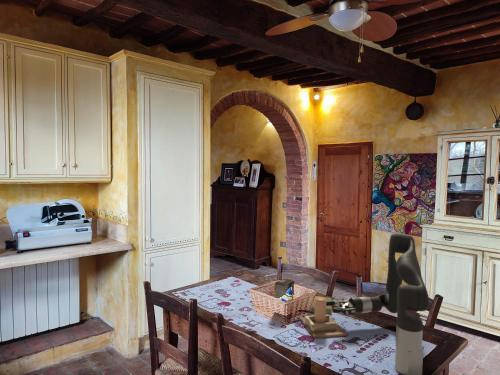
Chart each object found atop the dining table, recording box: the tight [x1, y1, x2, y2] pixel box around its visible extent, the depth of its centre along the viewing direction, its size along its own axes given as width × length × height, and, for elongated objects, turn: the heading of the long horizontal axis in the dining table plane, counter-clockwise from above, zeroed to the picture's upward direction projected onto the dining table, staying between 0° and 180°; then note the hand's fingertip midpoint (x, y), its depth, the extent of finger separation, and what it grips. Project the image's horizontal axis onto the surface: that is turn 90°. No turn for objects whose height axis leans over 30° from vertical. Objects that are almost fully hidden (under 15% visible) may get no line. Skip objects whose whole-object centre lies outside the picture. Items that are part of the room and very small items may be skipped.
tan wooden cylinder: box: [313, 296, 327, 323], centre depth 178 cm, size 5×5×13 cm
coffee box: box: [274, 278, 295, 298], centre depth 197 cm, size 9×6×16 cm
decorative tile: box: [311, 295, 333, 315], centre depth 205 cm, size 19×20×4 cm
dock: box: [299, 314, 348, 339], centre depth 178 cm, size 20×16×4 cm
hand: (329, 307), depth 178 cm, fingers open, 8 cm apart
